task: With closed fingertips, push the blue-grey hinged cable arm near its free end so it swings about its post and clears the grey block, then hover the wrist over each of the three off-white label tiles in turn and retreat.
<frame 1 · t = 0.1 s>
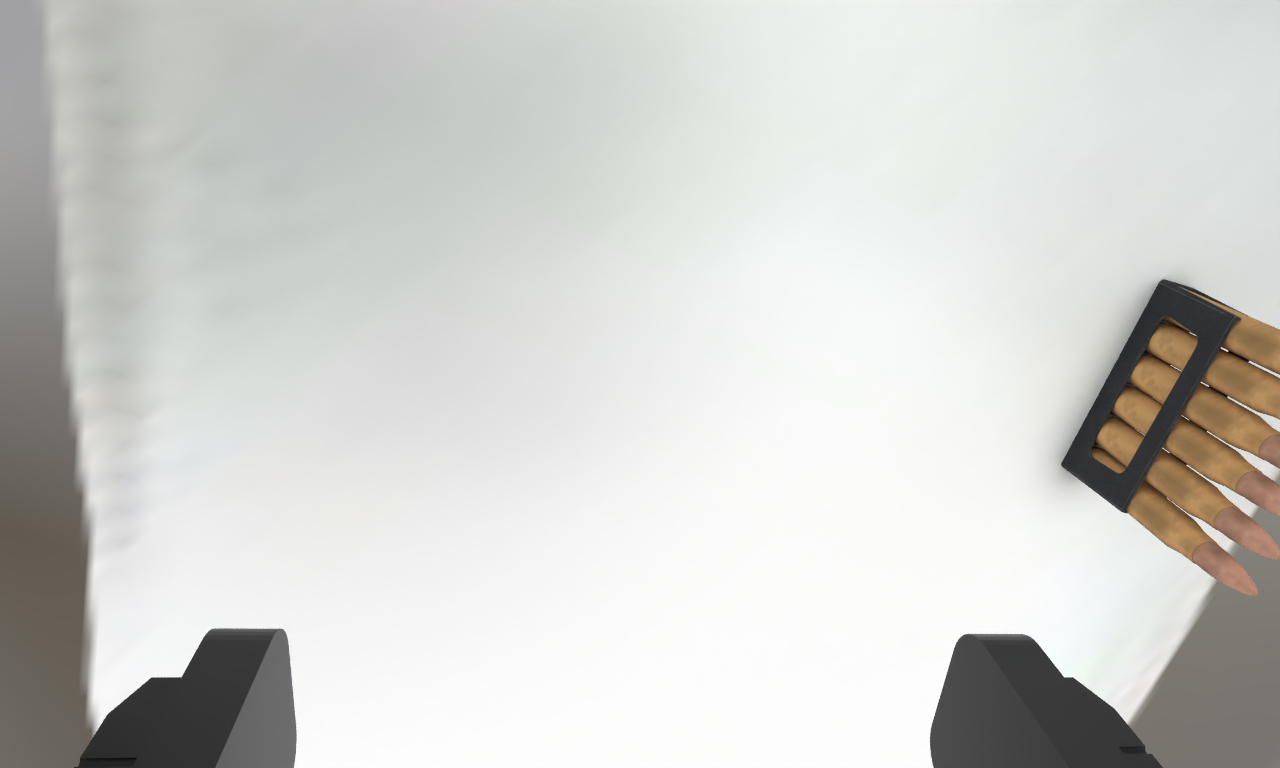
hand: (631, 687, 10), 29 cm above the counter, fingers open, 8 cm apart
ammunition clip: (1121, 378, 43), on the counter
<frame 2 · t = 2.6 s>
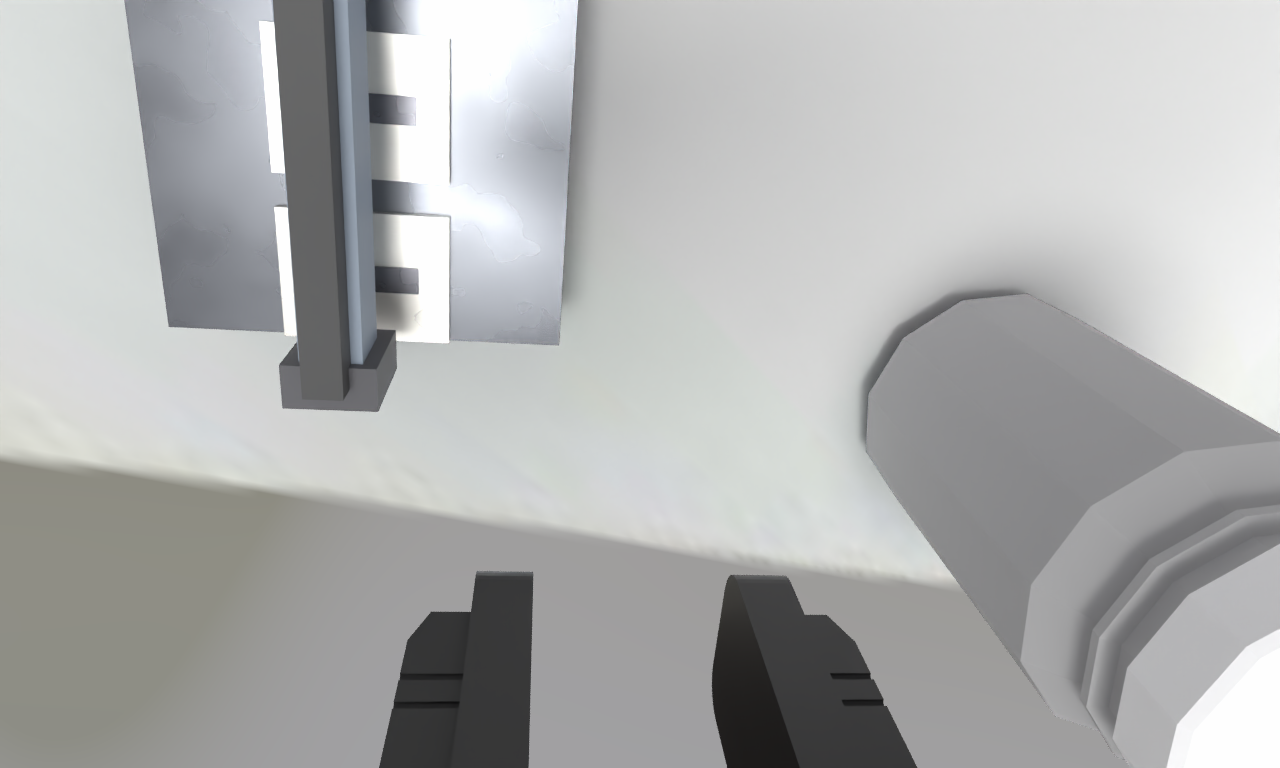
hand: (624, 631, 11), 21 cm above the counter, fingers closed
jar: (968, 396, 35), on the counter
grey block: (383, 45, 27), on the counter
cable arm: (324, 102, 20), point 8 cm above the counter, hinge at 0.0°
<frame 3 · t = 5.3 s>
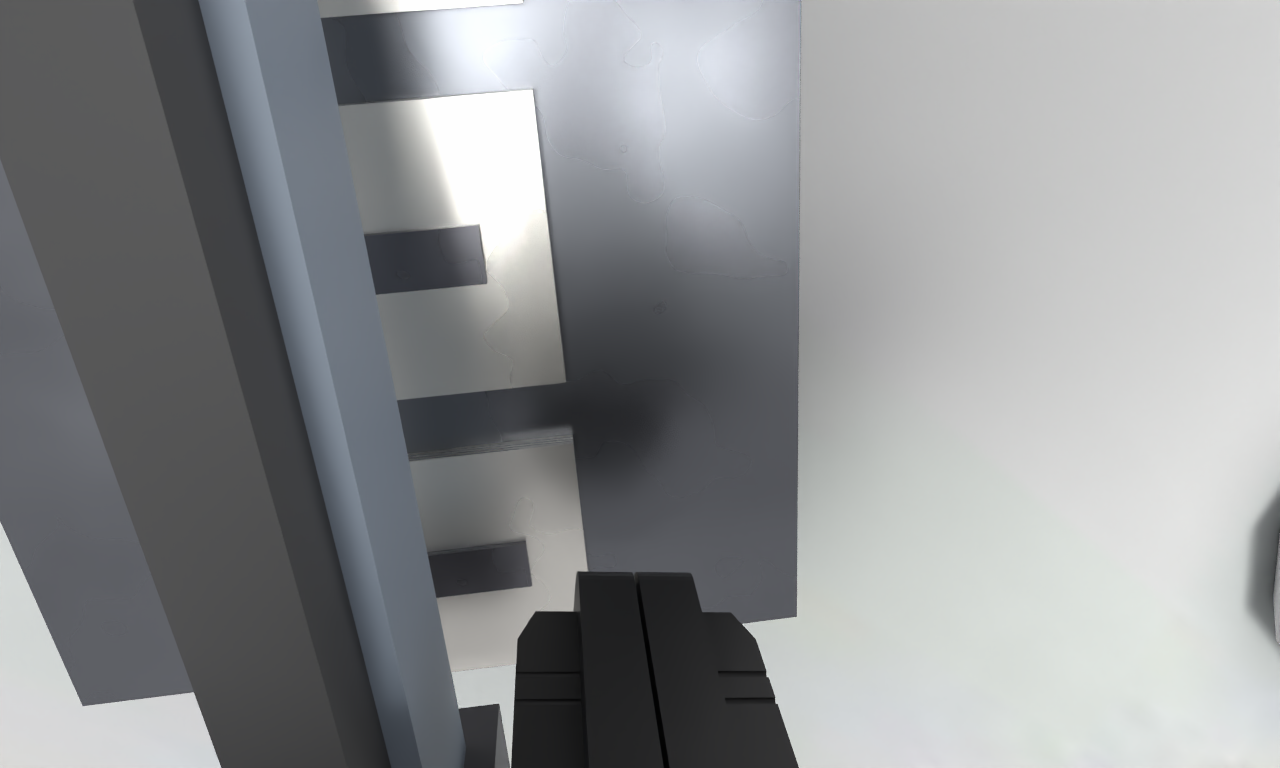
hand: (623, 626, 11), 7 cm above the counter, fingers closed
grey block: (393, 112, 14), on the counter
cable arm: (258, 332, 7), point 8 cm above the counter, hinge at 0.4°, touching gripper
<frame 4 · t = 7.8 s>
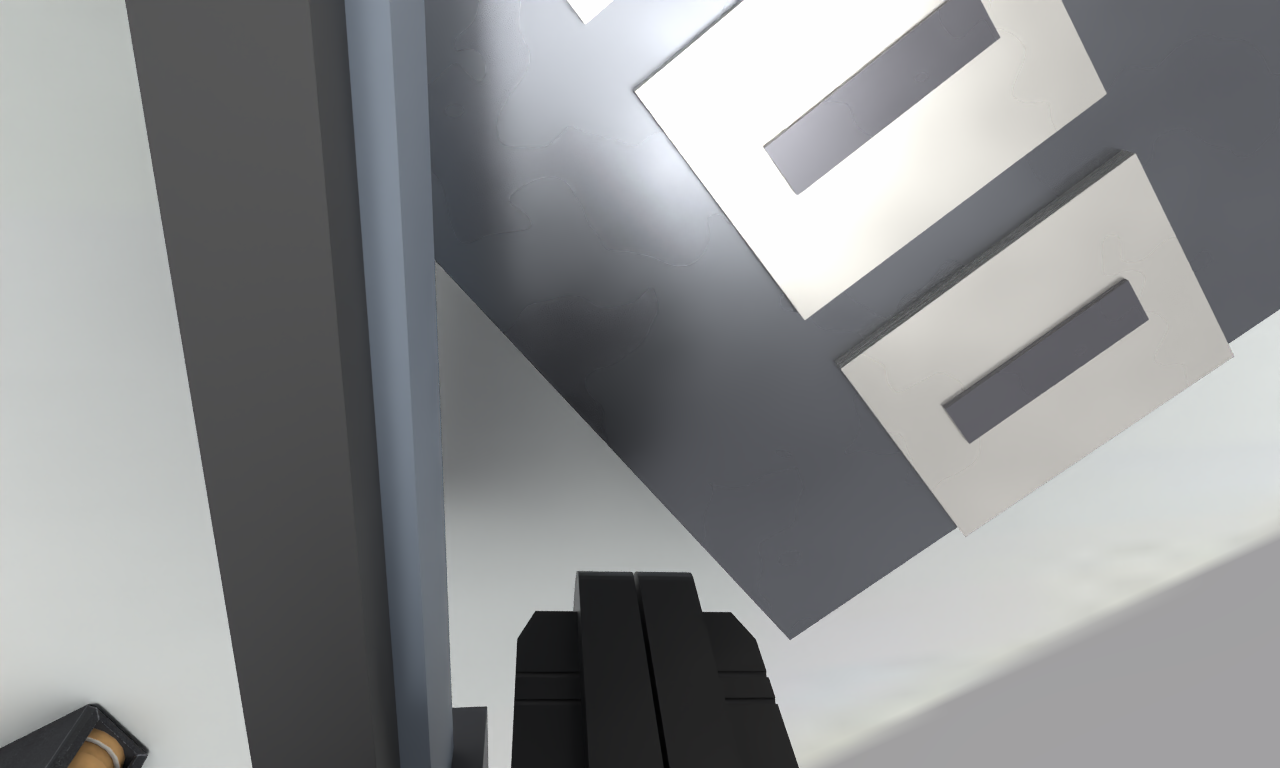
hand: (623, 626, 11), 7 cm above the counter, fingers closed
cable arm: (329, 317, 7), point 8 cm above the counter, hinge at 41.3°, touching gripper
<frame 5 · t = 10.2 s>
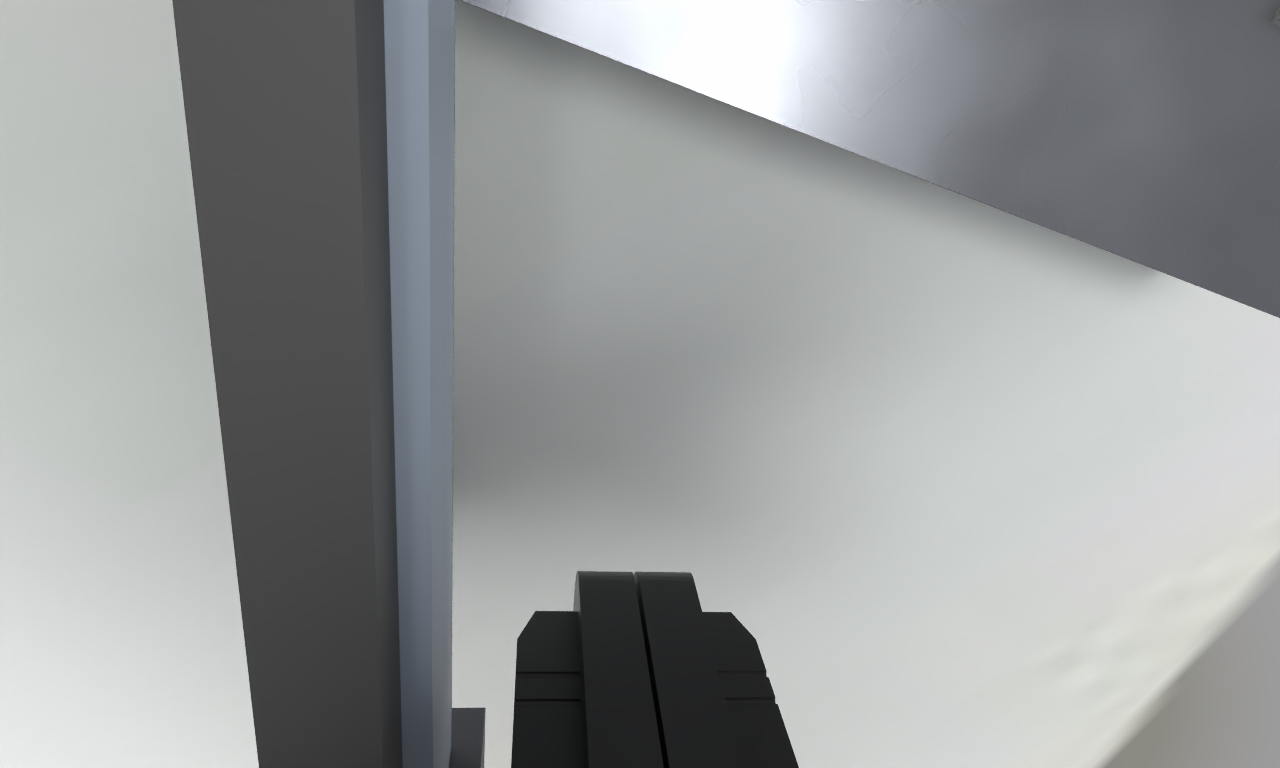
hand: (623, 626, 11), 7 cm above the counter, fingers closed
cable arm: (349, 312, 7), point 8 cm above the counter, hinge at 75.0°, touching gripper
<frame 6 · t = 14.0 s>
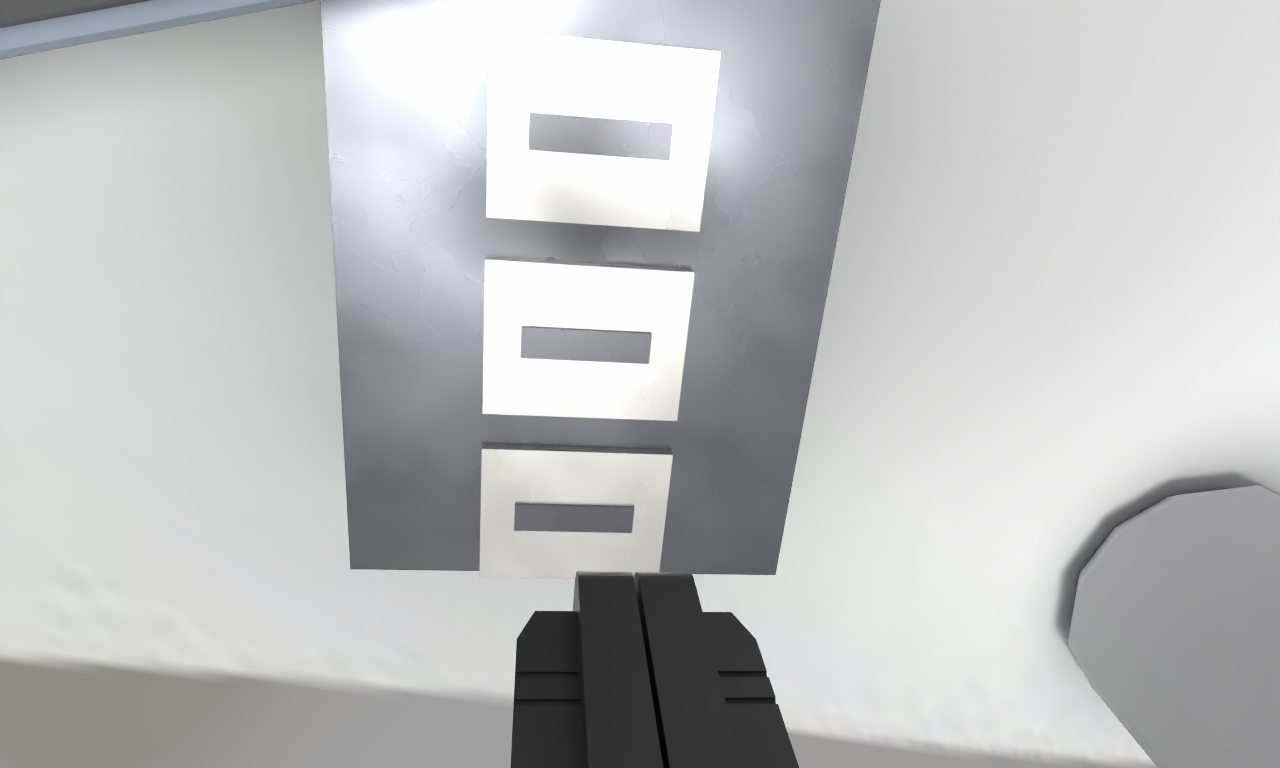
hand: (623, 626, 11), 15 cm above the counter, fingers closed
jar: (1172, 579, 32), on the counter
grey block: (583, 242, 24), on the counter
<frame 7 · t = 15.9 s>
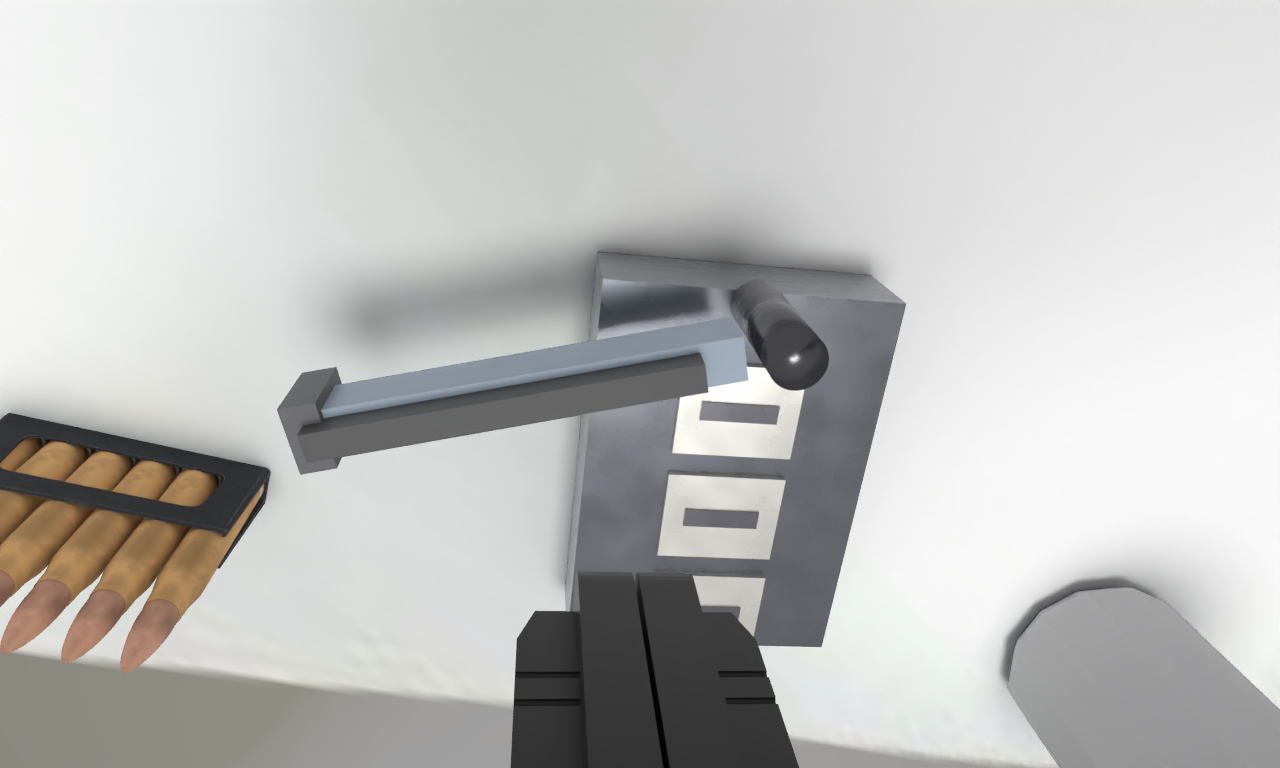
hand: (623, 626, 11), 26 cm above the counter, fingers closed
jar: (1080, 644, 47), on the counter
ammunition clip: (143, 457, 37), on the counter
grey block: (708, 440, 39), on the counter
cable arm: (521, 387, 28), point 8 cm above the counter, hinge at 75.2°
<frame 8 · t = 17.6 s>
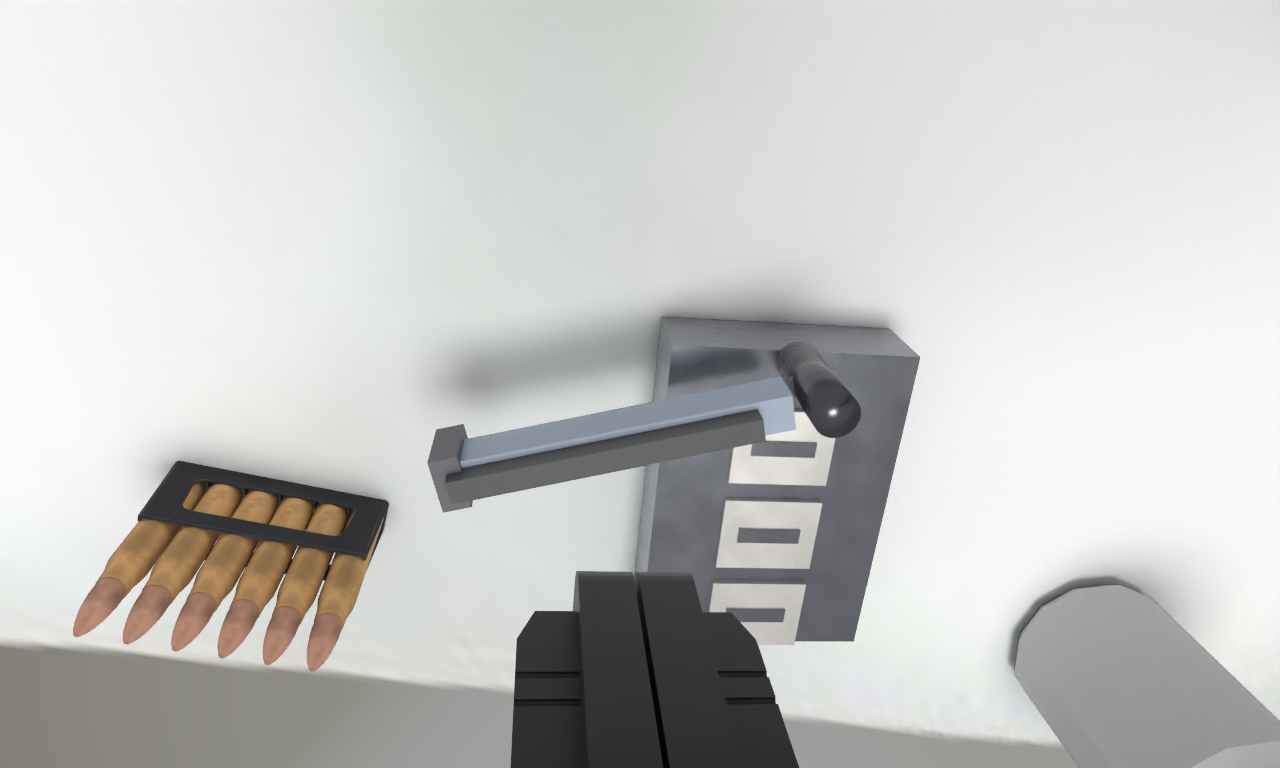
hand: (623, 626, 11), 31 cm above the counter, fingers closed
jar: (1077, 635, 54), on the counter
ammunition clip: (284, 494, 44), on the counter
grey block: (753, 468, 46), on the counter
cable arm: (614, 438, 36), point 8 cm above the counter, hinge at 75.2°
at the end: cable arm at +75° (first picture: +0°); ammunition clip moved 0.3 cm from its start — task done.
